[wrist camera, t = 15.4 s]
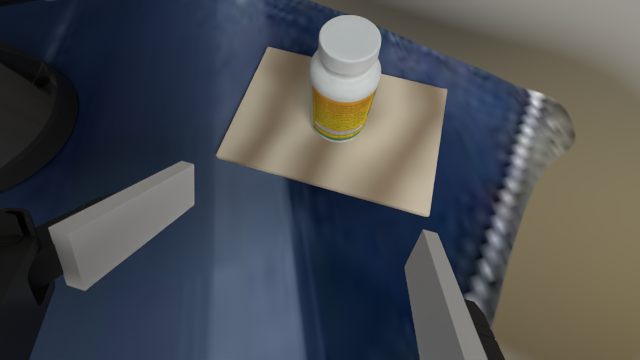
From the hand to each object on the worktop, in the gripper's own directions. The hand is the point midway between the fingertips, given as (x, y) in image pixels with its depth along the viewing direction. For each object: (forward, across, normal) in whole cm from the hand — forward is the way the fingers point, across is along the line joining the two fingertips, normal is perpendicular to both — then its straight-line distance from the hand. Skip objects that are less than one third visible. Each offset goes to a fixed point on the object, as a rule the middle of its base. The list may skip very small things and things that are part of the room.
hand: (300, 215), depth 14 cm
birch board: (+14, 0, +2) cm, 14 cm away
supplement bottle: (+14, 0, +3) cm, 14 cm away
